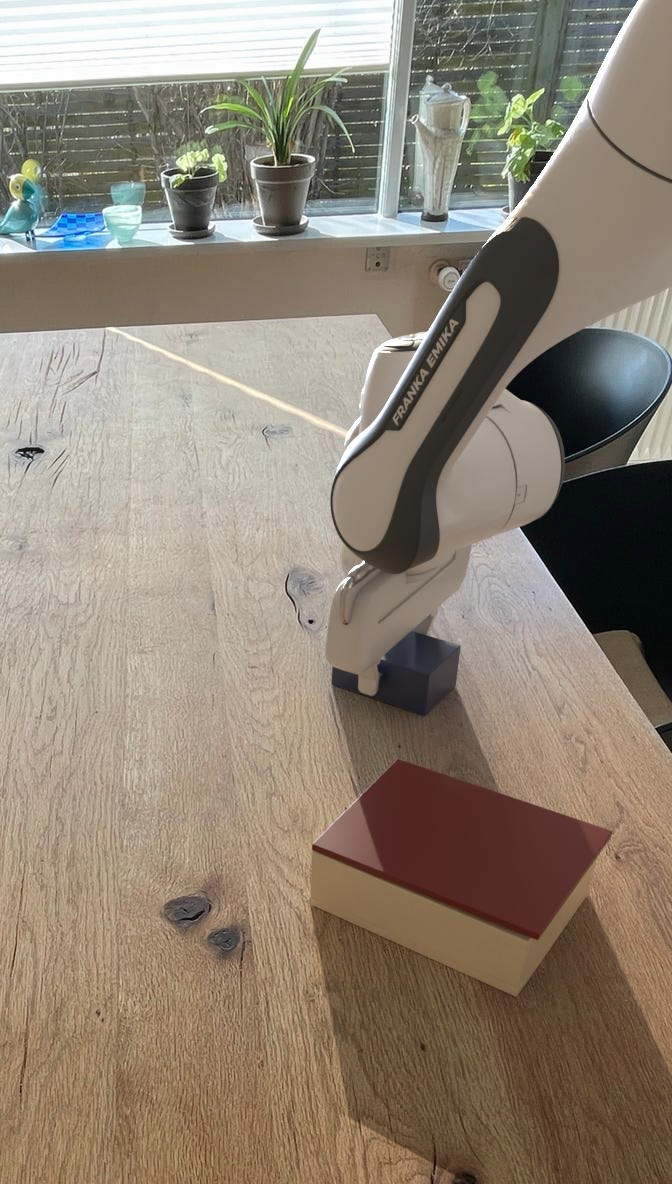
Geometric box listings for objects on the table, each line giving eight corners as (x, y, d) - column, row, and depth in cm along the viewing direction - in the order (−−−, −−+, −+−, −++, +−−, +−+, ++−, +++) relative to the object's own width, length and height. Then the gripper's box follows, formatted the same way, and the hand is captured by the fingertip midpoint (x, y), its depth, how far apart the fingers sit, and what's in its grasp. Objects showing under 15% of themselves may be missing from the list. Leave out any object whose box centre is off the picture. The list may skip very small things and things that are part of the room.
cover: (611, 837, 81) (612, 830, 80) (538, 940, 73) (539, 934, 73) (397, 764, 89) (397, 758, 89) (311, 850, 82) (311, 844, 81)
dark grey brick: (456, 685, 107) (461, 645, 104) (424, 716, 104) (429, 675, 101) (363, 656, 112) (366, 616, 109) (331, 684, 108) (332, 644, 106)
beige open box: (588, 894, 85) (601, 839, 81) (516, 997, 77) (528, 942, 74) (392, 817, 93) (396, 764, 89) (309, 904, 85) (311, 850, 82)
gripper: (377, 588, 90) (367, 732, 99) (490, 497, 102) (472, 633, 111) (309, 569, 93) (305, 710, 102) (427, 483, 105) (414, 616, 114)
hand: (393, 669), depth 107 cm, fingers open, 7 cm apart
